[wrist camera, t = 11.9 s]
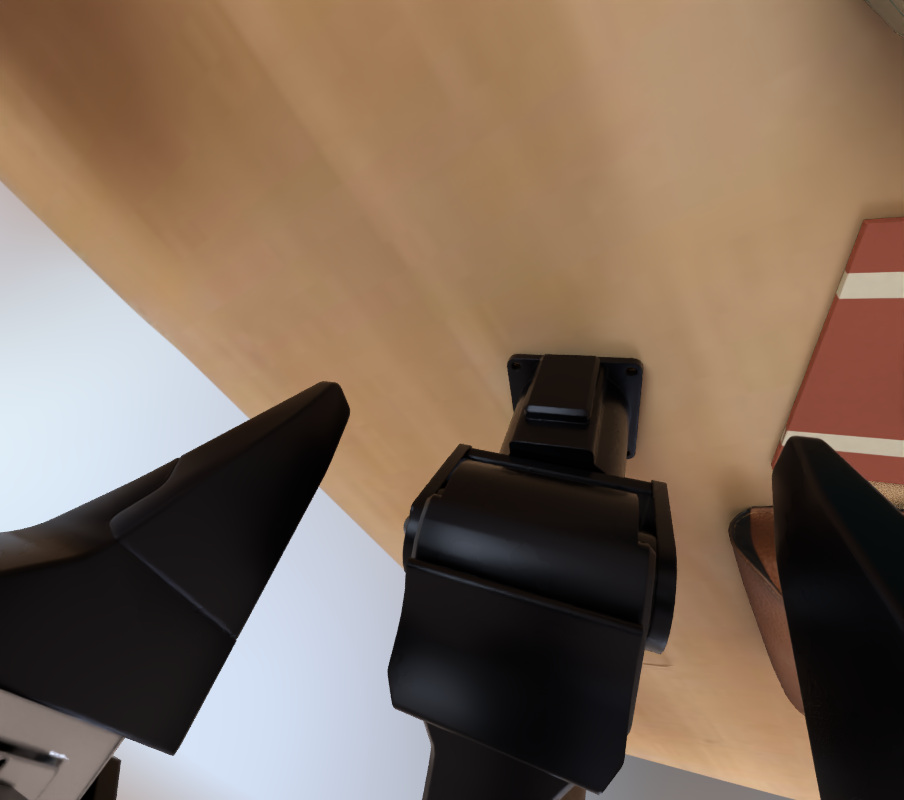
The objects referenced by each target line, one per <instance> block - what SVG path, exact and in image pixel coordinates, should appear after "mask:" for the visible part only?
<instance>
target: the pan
mask: <svg viewBox="0 0 904 800" xmlns="http://www.w3.org/2000/svg"><path fill="white" fill-rule="evenodd" d="M864 1H865V2H866V3H867V4H868V5H869V6H870V7H871V8H872V9H873V10H874V11H875V12H877V13H878V14H879V15H880V16H881V17H882V18H883V19H884V20H885V21H886V22H887V24H888V25H889V26H890V27H891V28H892V29H893V31H894V32H895V33H898V34H899V36H901V37H904V0H864Z"/></svg>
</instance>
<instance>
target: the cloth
mask: <svg viewBox="0 0 904 800" xmlns="http://www.w3.org/2000/svg"><path fill="white" fill-rule="evenodd" d="M791 436H805V437H814V438H819V439H822V440H824V441H825V442H826V443H827V444H828V445H830V446H831V447H832V448H833V449H834V450H835V451H836V452H837V453H838V454H839V455H840V456H841V457H842V458H843V459H845V460H846V461H847V462H848V463H849V464H850V465H851V466H852V467H853V468H854V469H855V470H856V471H857V472H859V473H860V474H861V475H862V476H863V477H864V478H865V479H866V480H869V481H878V482H886V483H895V484H904V217H898V218H882V219H867V220H864V221H863V224H862V226H861V229H860V232H859V234H858V237H857V239H856V242H855V245H854V247H853V250H852V253H851V255H850V258H849V260H848V263H847V266H846V268H845V271H844V274H843V276H842V279H841V281H840V284H839V287H838V289H837V292H836V295H835V297H834V300H833V303H832V305H831V308H830V310H829V313H828V316H827V318H826V321H825V324H824V326H823V329H822V331H821V334H820V337H819V339H818V342H817V345H816V347H815V350H814V353H813V355H812V358H811V360H810V363H809V366H808V368H807V371H806V374H805V376H804V379H803V381H802V384H801V387H800V389H799V392H798V395H797V397H796V400H795V403H794V405H793V408H792V410H791V413H790V416H789V418H788V421H787V424H786V426H785V429H784V431H783V434H782V437H781V439H780V442H779V445H778V447H777V450H776V453H775V455H774V458H773V460H772V463H771V466H772V469H774V466H775V464H776V462H777V460H778V458H779V456H780V454H781V451H782V449H783V447H784V445H785V443H786V441H787V440H788V439H789V438H790V437H791Z"/></svg>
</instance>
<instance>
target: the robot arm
mask: <svg viewBox="0 0 904 800" xmlns="http://www.w3.org/2000/svg"><path fill="white" fill-rule="evenodd" d="M514 363H519V364H520V365H521V366H517V365H515V364H514ZM631 367H632V368H635V369H636V370H635V371H628V370H627V368H631ZM507 368H508V375H509V382H510V389H511V396H512V403H513V410H514V414H513V417H512V420H511V422H510V425H509V428H508V431H507V433H506V436H505V439H504V442H503V444H502V447H501V450H500V452H499V453H495V452H490V451H484V450H479V449H474V448H472V446H470V445H464V444H459V445H458V447H457V448H456V449H455V450H454V452H453V453H452V454H451V455H450V456H449V457H448V459H447V460H446V461H445V463H444V464H443V465H442V466H441V468H440V469H439V470H438V471H437V473H436V474H435V475H434V476H433V478H432V479H431V480H430V482H429V483H428V484H427V485H426V487H425V488H424V489H423V490H422V492H421V493H420V494H419V496H418V497H417V498H416V499H415V501H414V502H413V504H412V506H411V510H410V516H408V517H407V518H406V520H405V523H404V532H405V539H404V545H403V566H404V571H405V573H406V578H405V593H404V600H403V606H402V612H401V617H400V622H399V626H398V631H397V635H396V638H395V642H394V646H393V650H392V654H391V658H390V662H389V666H388V680H389V687H390V694H391V700H392V705H393V707H394V708H395V709H397V710H399V711H402V712H404V713H406V714H409V715H411V716H413V717H416V718H418V719H420V720H423V721H424V724H425V727H426V730H427V733H428V736H429V739H430V742H431V753H430V760H429V766H428V771H427V777H426V782H425V788H424V793H423V798H422V800H560V799H561V798H562V797H563V796H564V795H565V794H566V793H568V792H569V791H570V790H571V789H572V788H573V787H574V786H575V785H576V786H579V787H581V788H583V789H586V790H588V791H590V792H593V793H595V794H597V795H599V794H601V793H603V791H604V790H605V789H606V787H607V786H608V785H609V784H610V782H611V781H612V779H613V778H614V777H615V775H616V774H617V773H618V772H619V770H620V769H621V767H622V765H623V763H624V758H625V749H626V741H627V735H628V734H629V732H630V729H631V726H632V721H633V715H634V709H635V703H636V697H637V691H638V685H639V679H640V673H641V667H642V661H643V656H644V650H648V651H651V652H655V653H658V654H661V653H662V652H663V651H664V649H665V647H666V644H667V641H668V637H669V634H670V629H671V624H672V619H673V612H674V605H675V595H676V580H677V557H676V547H675V540H674V533H673V526H672V519H671V512H670V505H669V498H668V491H667V484H666V483H664V482H659V481H653V480H651V482H646V481H640V480H635V479H630V478H625V467H626V459H630V458H632V457H634V455H635V450H636V439H637V429H638V418H639V407H640V396H641V385H642V375H643V364H642V363H641V361H639V360H637V359H634V358H612V357H596V356H581V355H552V354H545V355H527V354H515V355H512V356H511V357H510V359H509V361H508V363H507ZM349 416H350V408H349V405H348V402H347V400H346V398H345V395H344V393H343V391H342V388H341V386H340V385H339V384H338V383H335V382H327V381H322V382H319V383H317V384H316V385H314V386H312V387H310V388H308V389H306V390H304V391H302V392H301V393H299V394H297V395H295V396H293V397H291V398H289V399H287V400H286V401H284V402H282V403H280V404H278V405H276V406H274V407H272V408H270V409H269V410H267V411H265V412H263V413H261V414H259V415H257V416H255V417H254V418H252V419H250V420H248V421H246V422H244V423H242V424H241V425H239V426H237V427H235V428H233V429H231V430H229V431H227V432H226V433H224V434H222V435H220V436H218V437H216V438H214V439H212V440H210V441H208V442H207V443H205V444H203V445H201V446H199V447H197V448H195V449H193V450H192V451H190V452H188V453H186V454H184V455H182V456H181V457H180V458H176V459H174V460H173V461H171V462H169V463H167V464H165V465H163V466H161V467H159V468H157V469H155V470H154V471H152V472H150V473H148V474H146V475H144V476H142V477H140V478H138V479H136V480H134V481H132V482H130V483H128V484H126V485H124V486H121V487H119V488H117V489H115V490H113V491H111V492H109V493H107V494H105V495H102V496H100V497H98V498H96V499H94V500H92V501H90V502H88V503H85V504H83V505H81V506H79V507H77V508H75V509H72V510H70V511H68V512H66V513H64V514H62V515H60V516H58V517H56V518H53V519H51V520H49V521H46V522H44V523H41V524H38V525H35V526H32V527H28V528H24V529H20V530H15V531H9V532H1V533H0V800H116V797H117V788H118V780H119V772H120V764H121V760H120V759H118V758H116V757H115V756H113V754H114V752H115V751H116V750H117V748H118V747H119V745H120V744H121V742H122V741H123V740H124V739H125V738H128V739H130V740H133V741H136V742H138V743H141V744H143V745H146V746H148V747H151V748H154V749H156V750H159V751H162V752H164V753H167V754H169V755H172V756H173V755H174V754H175V753H176V752H177V750H178V749H179V747H180V745H181V743H182V742H183V740H184V738H185V736H186V734H187V732H188V730H189V728H190V727H191V725H192V723H193V721H194V719H195V718H196V716H197V714H198V711H199V710H200V708H201V706H202V704H203V703H204V701H205V699H206V697H207V695H208V693H209V691H210V689H211V688H212V686H213V684H214V682H215V680H216V678H217V676H218V674H219V672H220V671H221V669H222V667H223V665H224V663H225V661H226V659H227V658H228V655H229V654H230V652H231V650H232V648H233V646H234V645H235V642H236V639H237V638H238V636H239V635H240V633H241V631H242V629H243V627H244V625H245V623H246V622H247V620H248V618H249V616H250V614H251V612H252V610H253V608H254V607H255V604H256V603H257V601H258V599H259V597H260V595H261V594H262V592H263V590H264V588H265V586H266V584H267V582H268V580H269V579H270V577H271V575H272V573H273V571H274V569H275V567H276V565H277V564H278V562H279V560H280V558H281V556H282V554H283V552H284V551H285V549H286V547H287V545H288V543H289V541H290V539H291V537H292V536H293V534H294V532H295V530H296V528H297V526H298V524H299V522H300V521H301V519H302V517H303V515H304V513H305V511H306V509H307V508H308V506H309V504H310V502H311V500H312V498H313V496H314V494H315V493H316V490H317V489H318V487H319V485H320V483H321V481H322V480H323V478H324V476H325V474H326V472H327V470H328V467H329V465H330V463H331V461H332V458H333V456H334V453H335V451H336V448H337V446H338V444H339V441H340V439H341V436H342V434H343V431H344V429H345V426H346V424H347V422H348V419H349ZM627 450H628V451H627ZM772 492H773V514H774V535H775V553H776V564H777V570H778V576H779V581H780V587H781V592H782V597H783V603H784V608H785V613H786V618H787V624H788V629H789V634H790V640H791V645H792V650H793V655H794V661H795V666H796V671H797V677H798V682H799V687H800V692H801V698H802V703H803V708H804V714H805V719H806V724H807V729H808V735H809V740H810V745H811V750H812V756H813V761H814V766H815V772H816V777H817V782H818V787H819V793H820V798H821V800H904V514H903V513H901V512H900V511H899V510H898V509H897V508H896V507H895V506H894V505H893V504H892V503H891V502H890V501H889V500H888V499H886V498H885V497H884V496H883V495H882V494H881V493H880V492H879V491H878V490H877V489H876V488H875V487H874V486H872V485H871V484H870V483H869V482H868V481H867V480H866V479H865V478H864V477H863V476H862V475H861V474H860V473H859V472H857V471H856V470H855V469H854V468H853V467H852V466H851V465H850V464H849V463H848V462H847V461H846V460H845V459H843V458H842V457H841V456H840V455H839V454H838V453H837V452H836V451H835V450H834V449H833V448H832V447H831V446H830V445H828V444H827V443H826V442H825V441H824V440H822V439H819V438H814V437H805V436H791V437H790V438H789V439H788V440H787V441H786V443H785V445H784V447H783V449H782V451H781V454H780V456H779V458H778V460H777V462H776V464H775V466H774V469H773V473H772Z"/></svg>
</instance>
